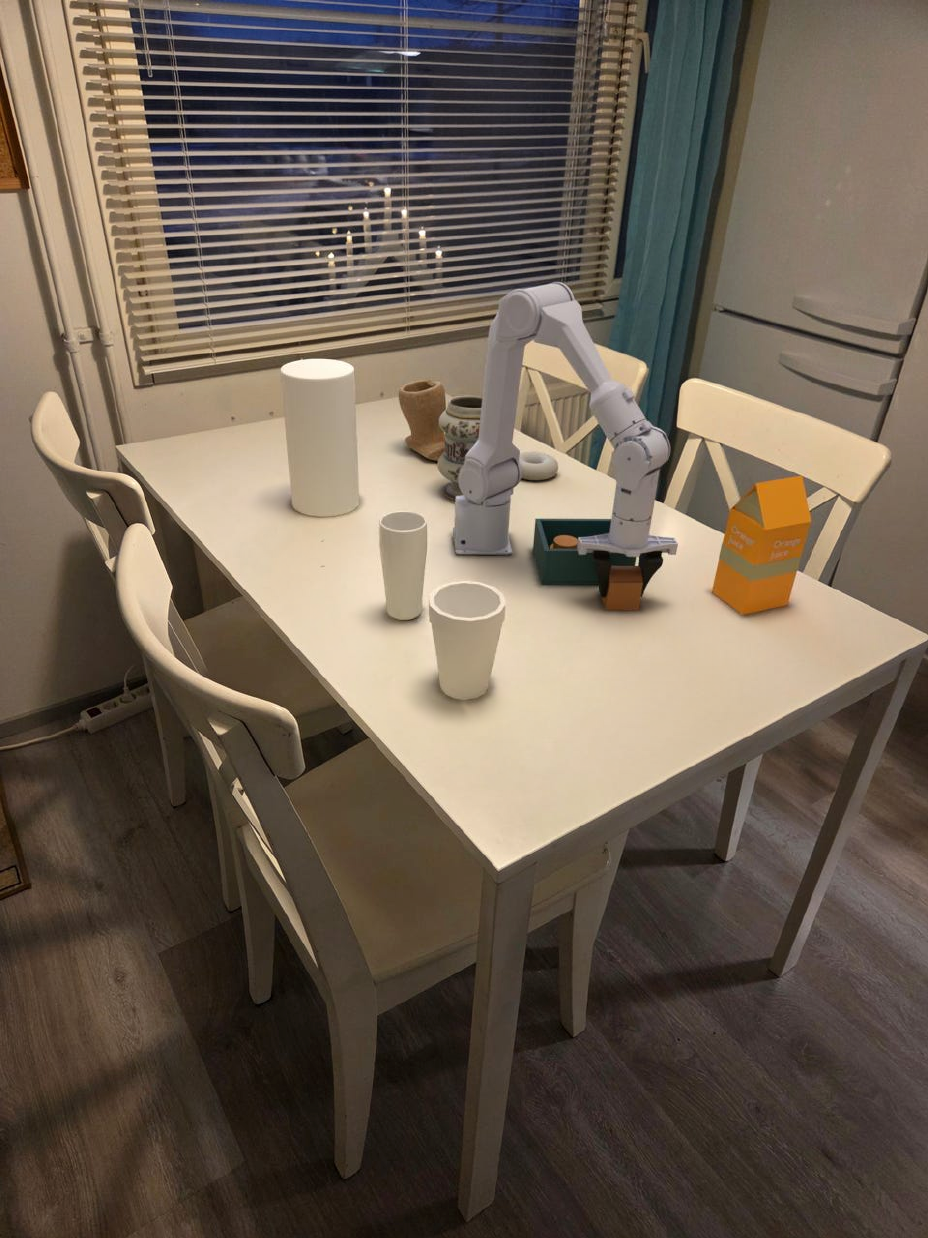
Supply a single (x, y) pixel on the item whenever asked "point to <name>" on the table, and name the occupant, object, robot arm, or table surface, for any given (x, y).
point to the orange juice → (763, 546)
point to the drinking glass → (403, 562)
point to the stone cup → (424, 416)
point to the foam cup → (466, 635)
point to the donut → (537, 465)
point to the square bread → (623, 588)
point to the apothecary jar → (458, 438)
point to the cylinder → (321, 436)
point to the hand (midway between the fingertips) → (619, 594)
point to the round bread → (564, 542)
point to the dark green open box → (570, 551)
